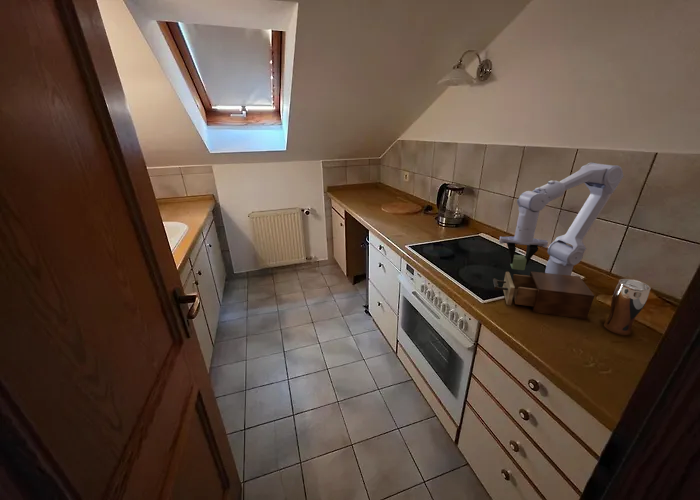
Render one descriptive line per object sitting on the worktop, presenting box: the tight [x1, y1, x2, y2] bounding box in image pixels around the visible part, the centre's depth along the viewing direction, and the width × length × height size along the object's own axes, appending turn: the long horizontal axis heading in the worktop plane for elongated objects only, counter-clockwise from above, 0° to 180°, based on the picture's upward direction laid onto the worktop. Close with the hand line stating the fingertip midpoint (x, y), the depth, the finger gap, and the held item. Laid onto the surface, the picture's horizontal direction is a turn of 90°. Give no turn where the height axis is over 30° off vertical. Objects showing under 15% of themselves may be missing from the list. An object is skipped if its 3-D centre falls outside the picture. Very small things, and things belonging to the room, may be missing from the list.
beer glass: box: [603, 278, 652, 336], centre depth 85 cm, size 7×7×15 cm
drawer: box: [492, 271, 538, 307], centre depth 101 cm, size 18×11×7 cm, turn 72°
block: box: [509, 254, 527, 271], centre depth 106 cm, size 4×4×4 cm
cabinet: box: [529, 271, 595, 320], centre depth 98 cm, size 15×13×9 cm
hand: (518, 263), depth 106 cm, fingers closed on block, 4 cm apart
